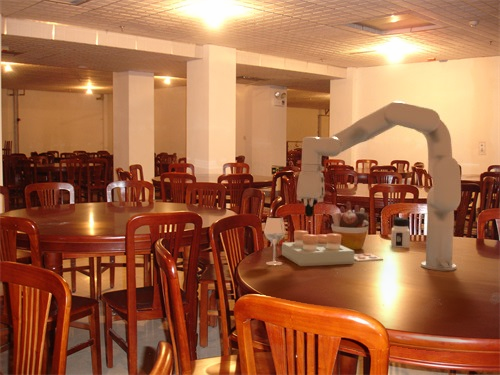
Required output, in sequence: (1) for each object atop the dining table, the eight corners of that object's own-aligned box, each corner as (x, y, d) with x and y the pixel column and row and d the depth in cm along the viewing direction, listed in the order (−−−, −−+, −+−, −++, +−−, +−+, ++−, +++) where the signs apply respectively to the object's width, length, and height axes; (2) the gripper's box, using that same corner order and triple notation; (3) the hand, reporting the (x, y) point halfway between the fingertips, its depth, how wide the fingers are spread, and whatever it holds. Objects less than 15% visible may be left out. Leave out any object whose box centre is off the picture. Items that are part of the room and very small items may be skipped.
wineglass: (259, 264, 209) (260, 217, 208) (269, 260, 216) (270, 215, 215) (279, 267, 205) (280, 219, 204) (288, 263, 212) (289, 216, 211)
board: (353, 263, 213) (354, 250, 213) (300, 266, 207) (300, 253, 207) (330, 252, 234) (331, 241, 234) (281, 254, 228) (282, 242, 228)
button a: (342, 253, 215) (343, 235, 214) (329, 253, 214) (330, 236, 213) (336, 250, 220) (337, 233, 220) (324, 251, 219) (324, 233, 218)
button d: (309, 249, 222) (310, 232, 221) (296, 250, 220) (296, 232, 220) (304, 247, 227) (305, 230, 227) (291, 247, 226) (292, 230, 225)
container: (409, 248, 248) (410, 219, 247) (391, 247, 249) (392, 218, 248) (408, 245, 255) (409, 217, 254) (391, 244, 257) (392, 216, 256)
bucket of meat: (369, 252, 235) (371, 206, 233) (330, 251, 237) (331, 205, 235) (365, 244, 255) (367, 201, 253) (330, 243, 257) (331, 200, 255)
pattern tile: (383, 260, 220) (383, 258, 220) (358, 261, 217) (358, 259, 217) (370, 254, 231) (370, 252, 231) (346, 255, 228) (346, 253, 228)
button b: (332, 253, 225) (332, 236, 224) (319, 253, 223) (320, 236, 223) (326, 250, 230) (327, 234, 230) (314, 251, 229) (314, 234, 228)
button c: (319, 254, 212) (319, 236, 212) (305, 254, 211) (306, 236, 210) (313, 251, 218) (314, 234, 217) (300, 252, 216) (300, 234, 216)
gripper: (333, 169, 211) (330, 217, 213) (297, 167, 219) (295, 213, 220) (325, 170, 205) (323, 219, 206) (289, 168, 212) (287, 215, 214)
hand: (309, 216), depth 213 cm, fingers closed
